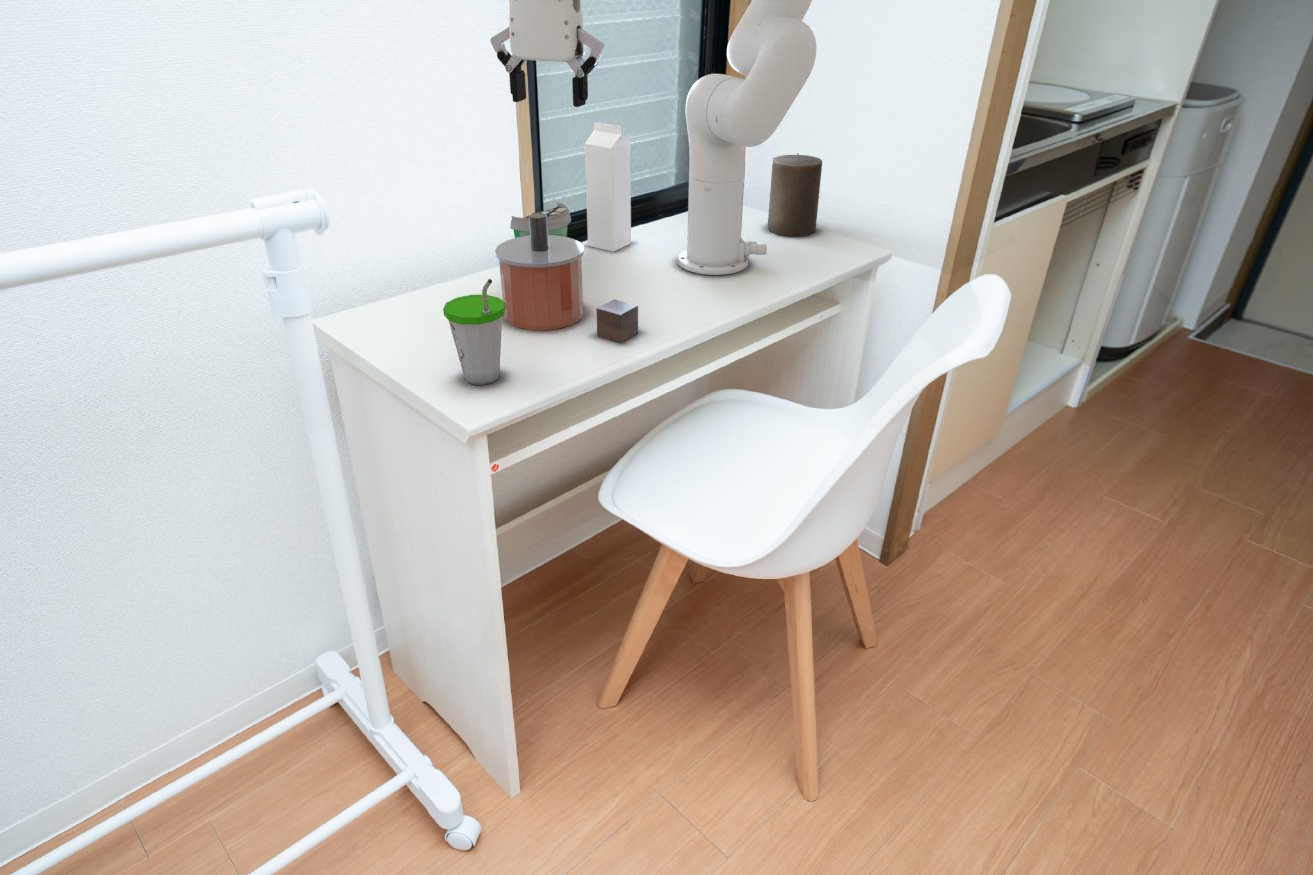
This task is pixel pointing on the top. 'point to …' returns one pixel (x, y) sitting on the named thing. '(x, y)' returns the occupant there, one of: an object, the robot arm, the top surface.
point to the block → (617, 320)
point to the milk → (608, 188)
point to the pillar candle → (794, 194)
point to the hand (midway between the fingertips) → (549, 103)
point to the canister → (542, 295)
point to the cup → (477, 334)
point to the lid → (539, 247)
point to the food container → (555, 222)
